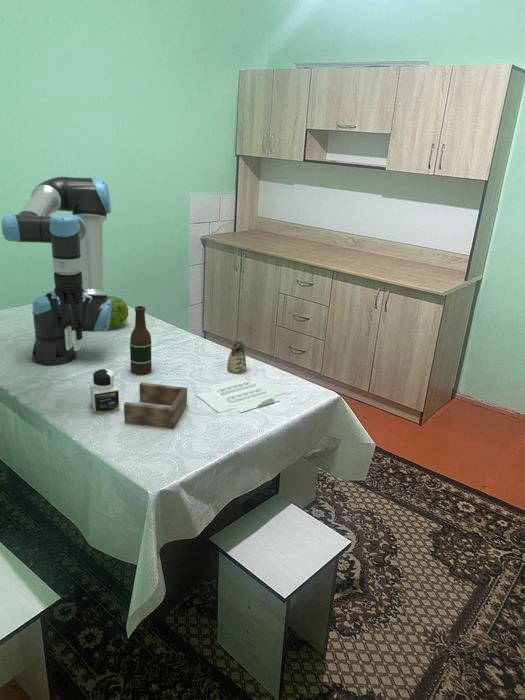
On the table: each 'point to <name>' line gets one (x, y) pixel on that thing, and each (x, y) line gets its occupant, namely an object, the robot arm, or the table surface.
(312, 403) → the table surface
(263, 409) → the table surface
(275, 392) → the tray
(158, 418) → the box
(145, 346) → the beer bottle
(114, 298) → the lettuce
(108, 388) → the medicine bottle
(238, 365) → the figurine
